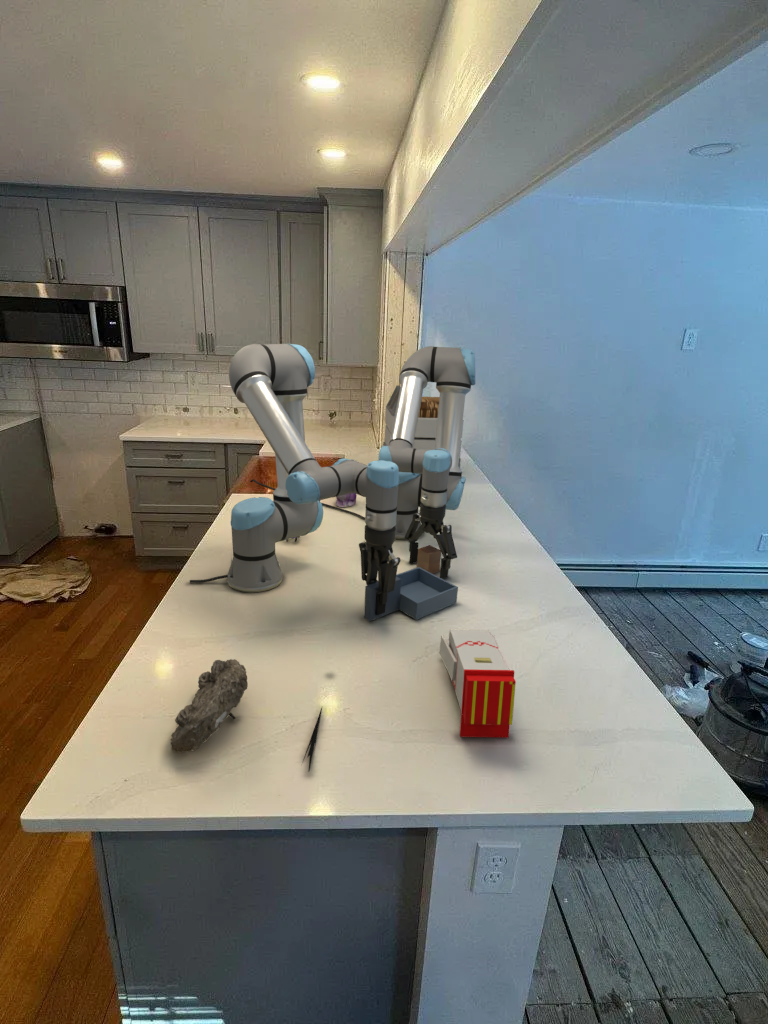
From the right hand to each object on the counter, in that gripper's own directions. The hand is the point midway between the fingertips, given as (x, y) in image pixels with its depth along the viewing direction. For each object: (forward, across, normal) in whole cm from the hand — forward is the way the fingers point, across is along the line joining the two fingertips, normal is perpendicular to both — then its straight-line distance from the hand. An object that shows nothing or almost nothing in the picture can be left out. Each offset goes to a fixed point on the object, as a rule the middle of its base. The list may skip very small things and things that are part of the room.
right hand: (428, 570), depth 173 cm
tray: (0, +12, -21) cm, 24 cm away
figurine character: (0, -46, -19) cm, 50 cm away
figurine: (0, -63, +16) cm, 65 cm away
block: (0, 0, 0) cm, 0 cm away
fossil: (0, +22, -79) cm, 82 cm away
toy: (0, +47, -34) cm, 58 cm away
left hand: (-2, +12, -31) cm, 33 cm away
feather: (0, +35, -64) cm, 73 cm away
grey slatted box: (0, -80, +73) cm, 108 cm away
